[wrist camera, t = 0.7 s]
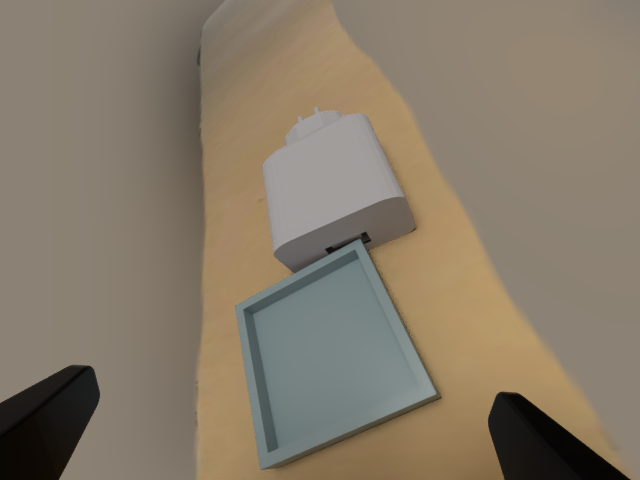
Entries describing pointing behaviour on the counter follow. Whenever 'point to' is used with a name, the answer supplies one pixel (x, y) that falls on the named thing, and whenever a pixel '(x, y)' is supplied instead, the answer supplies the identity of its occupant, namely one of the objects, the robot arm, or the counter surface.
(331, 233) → the charger
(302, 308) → the tray
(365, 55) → the counter surface
